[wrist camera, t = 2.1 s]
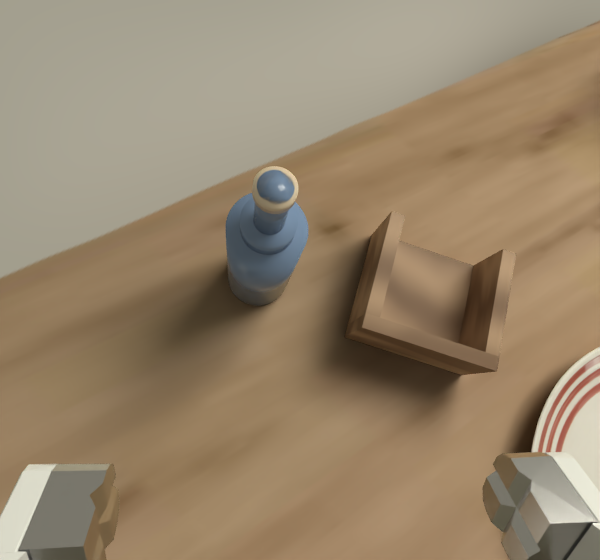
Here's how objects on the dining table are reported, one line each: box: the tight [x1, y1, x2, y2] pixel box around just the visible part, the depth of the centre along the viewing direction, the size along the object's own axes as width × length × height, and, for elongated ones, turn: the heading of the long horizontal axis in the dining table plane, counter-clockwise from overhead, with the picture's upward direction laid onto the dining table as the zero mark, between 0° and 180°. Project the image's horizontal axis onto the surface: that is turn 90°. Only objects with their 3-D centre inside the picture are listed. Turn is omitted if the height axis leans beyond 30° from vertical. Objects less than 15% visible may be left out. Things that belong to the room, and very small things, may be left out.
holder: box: [345, 211, 516, 375], centre depth 39 cm, size 10×11×6 cm
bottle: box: [226, 166, 308, 306], centre depth 32 cm, size 5×5×18 cm
